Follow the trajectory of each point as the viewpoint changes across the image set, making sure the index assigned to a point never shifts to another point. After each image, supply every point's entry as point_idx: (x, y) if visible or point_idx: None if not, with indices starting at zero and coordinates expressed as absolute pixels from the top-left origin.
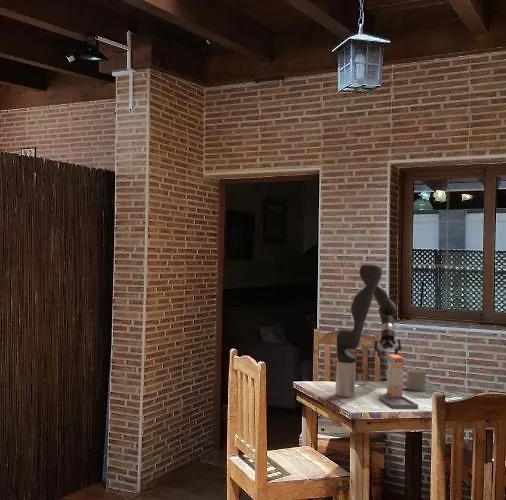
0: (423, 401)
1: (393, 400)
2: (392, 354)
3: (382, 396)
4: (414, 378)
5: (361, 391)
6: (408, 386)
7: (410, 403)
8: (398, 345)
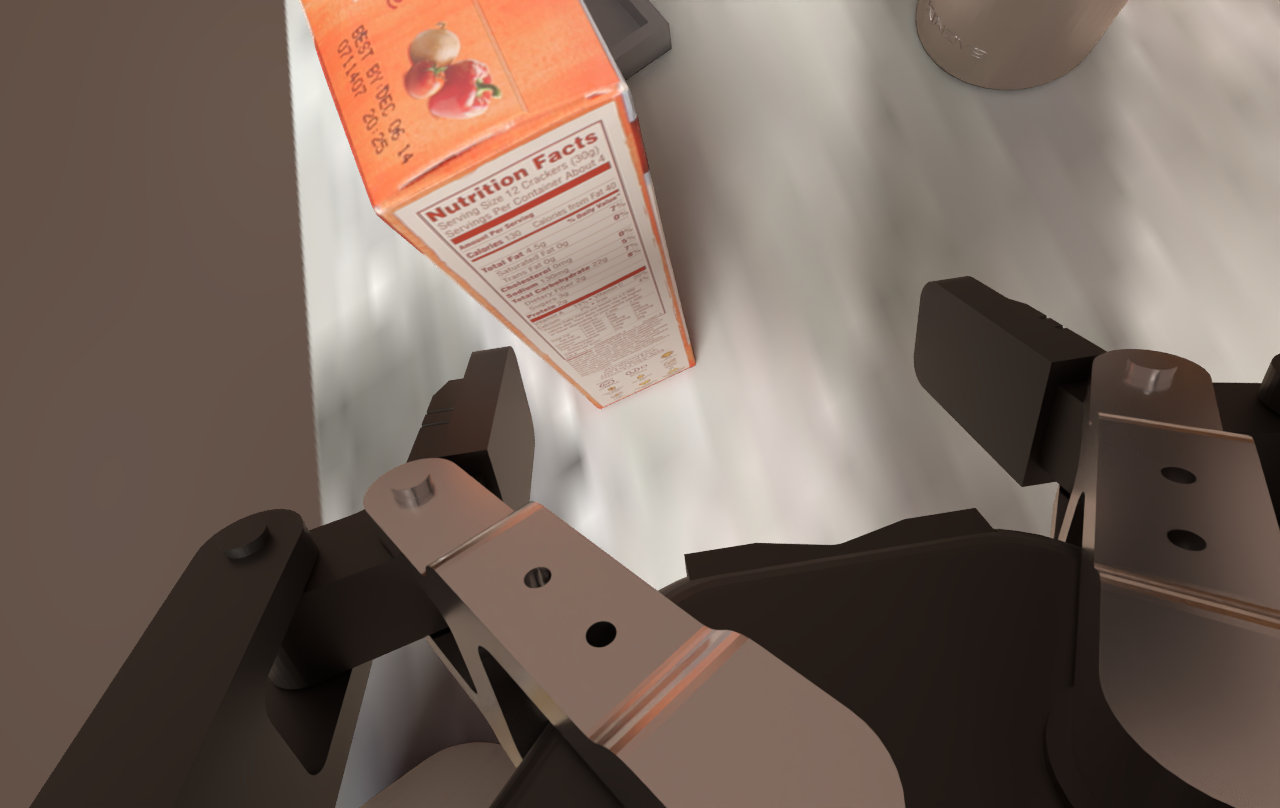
0: (332, 219)
1: None
2: (514, 91)
3: (640, 28)
4: (413, 796)
5: None
6: None
7: None
8: (260, 605)
